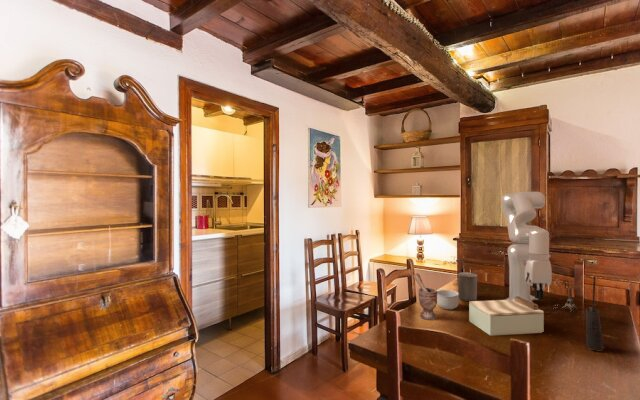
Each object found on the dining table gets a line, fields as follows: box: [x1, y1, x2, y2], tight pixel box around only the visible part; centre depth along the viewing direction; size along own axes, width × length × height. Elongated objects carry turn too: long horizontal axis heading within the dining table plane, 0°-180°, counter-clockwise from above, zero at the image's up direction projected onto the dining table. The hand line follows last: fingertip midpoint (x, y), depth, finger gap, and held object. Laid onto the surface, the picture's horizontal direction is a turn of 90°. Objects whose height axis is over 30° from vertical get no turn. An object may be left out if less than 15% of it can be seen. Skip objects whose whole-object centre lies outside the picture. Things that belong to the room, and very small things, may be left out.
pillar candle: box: [457, 271, 478, 302], centre depth 188 cm, size 10×10×15 cm
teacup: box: [437, 288, 460, 311], centre depth 175 cm, size 14×11×8 cm
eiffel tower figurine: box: [552, 285, 578, 312], centre depth 170 cm, size 15×10×13 cm
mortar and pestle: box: [413, 273, 438, 321], centre depth 161 cm, size 12×9×20 cm
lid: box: [468, 297, 545, 316], centre depth 149 cm, size 24×16×3 cm, turn 96°
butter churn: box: [585, 275, 605, 350], centre depth 128 cm, size 9×10×28 cm
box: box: [468, 303, 545, 337], centre depth 149 cm, size 24×16×8 cm, turn 96°
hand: (538, 298), depth 150 cm, fingers closed
